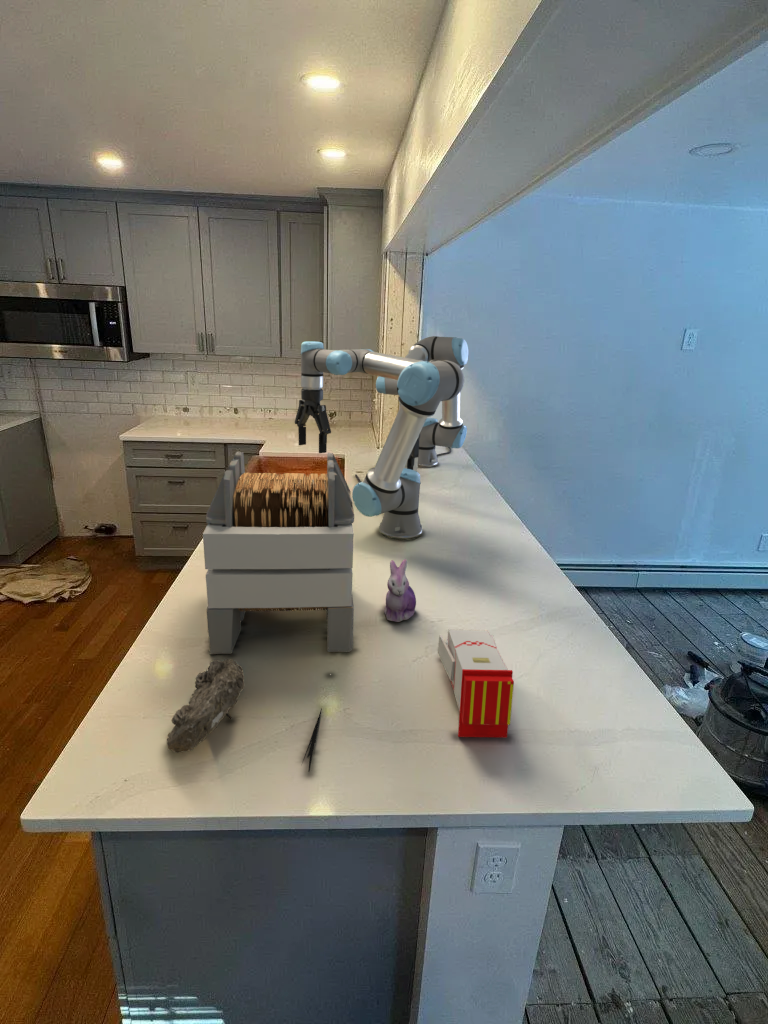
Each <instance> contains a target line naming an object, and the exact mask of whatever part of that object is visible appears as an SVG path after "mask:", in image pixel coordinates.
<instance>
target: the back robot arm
mask: <svg viewBox="0 0 768 1024" xmlns="http://www.w3.org/2000/svg"><path fill="white" fill-rule="evenodd" d="M404 358H410V359H415V360H420V361H427V362H430V361H431V360H439V361H451V362H454V363H456V364H457V365H458V366H459V367H460V368H461V370H462V371H463V369H464V368H465V365H467V363H468V361H469V346H468V343H467V341H466V340H465V338H462V337H458V336H457V337H456V336H437V335H436V336H435V335H432V336H431V335H430V336H426V337H425V338H422V339H421V340H418V341H417V342H415V343H414V344H413V345H412V346H411V347H410V348H409V350H408V353H407V354H406V355H405V356H404ZM397 383H398V380H393V379H389V378H385V377H380V376H377V378H376V380H375V389H376V392H377V393H379V394H383V395H391V396H392V395H393V396H399V394H398V390H399V389H398V388H397ZM400 406H401V405H400V403H399V402H398V410H399V409H400ZM463 420H464V419H462V418H461V392H460V393H459V394H458V395H457V396H456V397H454V398H452V399H450V400H446V401H441V418H440V419H439V420H438V418H434V417H427V419H426V421H425V423H424V425H423V427H422V430H421V432H420V434H419V436H418V438H417V441H416V443H415V445H414V447H413V449H412V451H411V454H410V456H409V458H408V460H407V469H411V470H413V466H414V459H415V458H417V457H418V468H433V467H437V466H438V465H439V460H438V459H439V458H438V457H439V456H442V455H443V456H445V455H449V454H450V453H451V452H452V449H461V448H462V447H463V445H464V443H465V440H466V437H467V433H468V428H467V425H464V421H463ZM436 447H441V448H448V450H449V451H447V452H441V453H438V454H437V450H436Z"/></svg>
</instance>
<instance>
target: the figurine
mask: <svg viewBox="0 0 768 1024" xmlns="http://www.w3.org/2000/svg"><path fill="white" fill-rule="evenodd" d="M407 567H408V559H406V558H404V559H403V560H402V561H401V563H400V565H399V566H398V565H397V563H396V562H395V561H394V560H393V559H391V560H390V561H389V570H390V576H389V578H388V579H387V589H388V591H387V592H386V594H385V595H386V596H385V607H384V615H385V616H386V620H387V621H391V622H395V623H400V622H402V621H406V620H409V619H410V618H411V617H413V616H414V615H415V610H416V606H417V597H416V593H415V591H414V590H413V587H411V586H410V582H409V579H408V577H407V574H406V571H407Z"/></svg>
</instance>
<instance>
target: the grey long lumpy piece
mask: <svg viewBox="0 0 768 1024" xmlns="http://www.w3.org/2000/svg"><path fill="white" fill-rule="evenodd" d="M243 670H244V669H243V667H242V665H240V664H237V662H236V661H235V660H234V659H232V658H231V659H227V658H226V659H224V660H223V661H222V660H217V659H212V660H211V661H210V663H209V665H208V666H207V671H201V672H199V673H198V674H197V675H196V676H195V680H194V684H195V685H194V687H195V689H194V690H193V693H192V694H191V697H190V698H189V700H188V704H184V705H182V706H181V707H180V709H177V710H176V711H175V713H174V715H173V716H172V718H171V723H172V724H173V727H172V730H171V731H170V732H168V734H167V738H166V741H167V742H166V745H167V749H168V750H169V751H173V752H174V753H176V754H178V753H182V752H188V751H189V752H192V751H193V750H195V748H196V747H197V746H199V744H200V743H201V742H203V741H204V740H205V739H206V738H207V737H208V736H209V735H210V734H211V733H212V732H214V730H215V729H217V727H218V726H219V724H220V722H221V721H222V720H223V719H224V718H225V716H226V717H227V719H229V720H233V717H232V715H230V714H229V710H230V709H231V708H234V706H235V704H236V703H237V702H238V699H239V697H240V695H241V693H242V691H243V690H245V689H244V688H245V675H244V671H243Z"/></svg>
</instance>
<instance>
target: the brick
mask: <svg viewBox="0 0 768 1024" xmlns="http://www.w3.org/2000/svg"><path fill="white" fill-rule="evenodd" d="M404 468H406V469H407V462H406V464H405V467H404ZM418 468H419V467H418V457H417V458H415V459H414V466H413V470H414V471H417V472H418Z"/></svg>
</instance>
